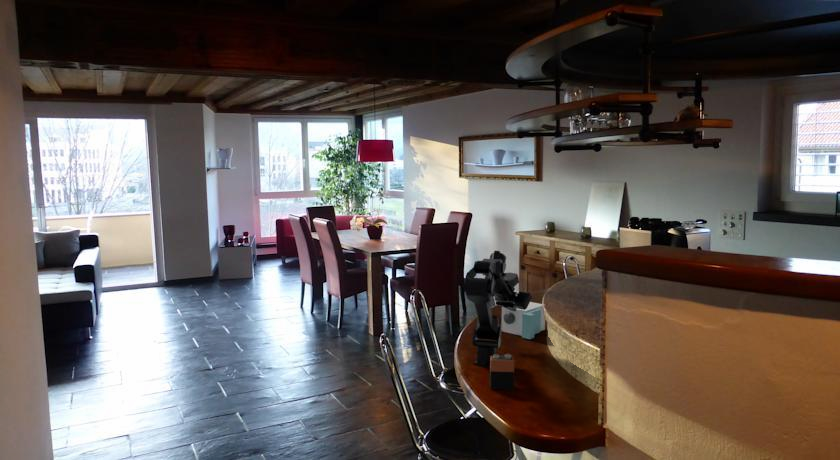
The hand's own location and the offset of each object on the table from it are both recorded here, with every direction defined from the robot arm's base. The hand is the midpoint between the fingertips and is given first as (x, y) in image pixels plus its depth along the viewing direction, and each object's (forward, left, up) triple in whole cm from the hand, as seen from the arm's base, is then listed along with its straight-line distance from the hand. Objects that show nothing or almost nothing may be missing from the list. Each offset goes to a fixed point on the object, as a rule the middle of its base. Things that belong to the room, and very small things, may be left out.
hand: (514, 310), depth 221 cm
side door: (+13, 0, -12) cm, 18 cm away
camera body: (+18, +8, -13) cm, 23 cm away
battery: (-38, -22, -13) cm, 46 cm away
